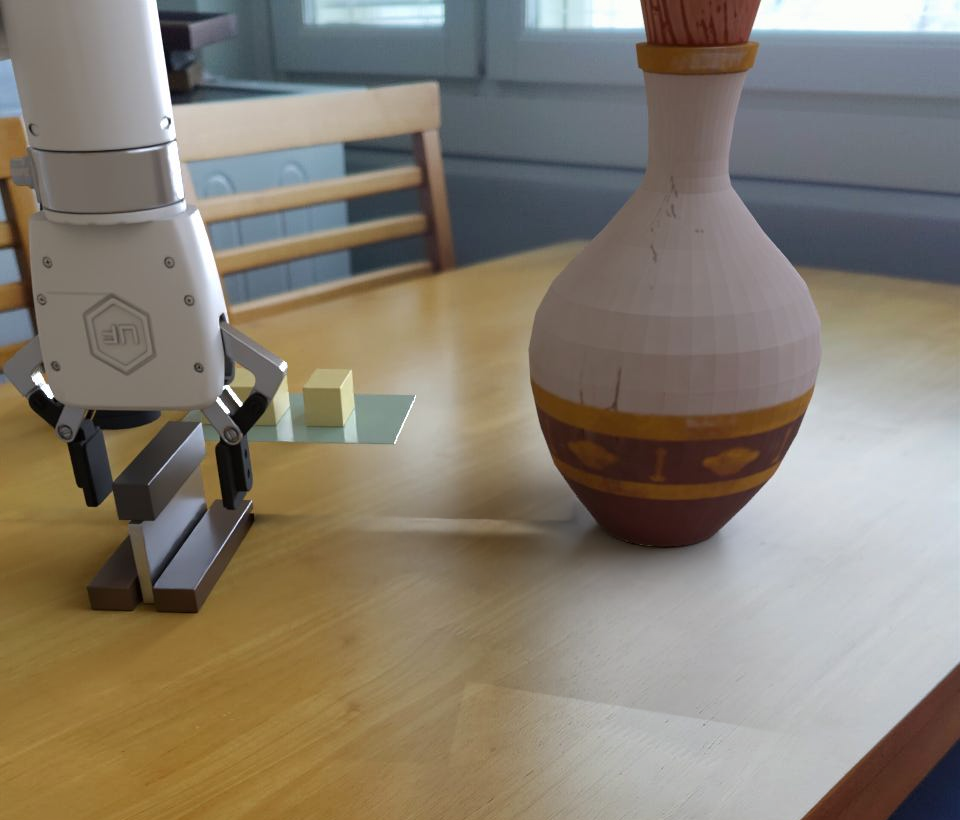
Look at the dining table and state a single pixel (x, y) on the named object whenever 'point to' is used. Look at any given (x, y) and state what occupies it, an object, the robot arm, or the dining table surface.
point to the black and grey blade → (162, 498)
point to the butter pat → (328, 397)
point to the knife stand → (176, 565)
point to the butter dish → (365, 425)
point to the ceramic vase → (677, 312)
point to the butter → (242, 390)
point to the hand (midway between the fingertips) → (168, 499)
